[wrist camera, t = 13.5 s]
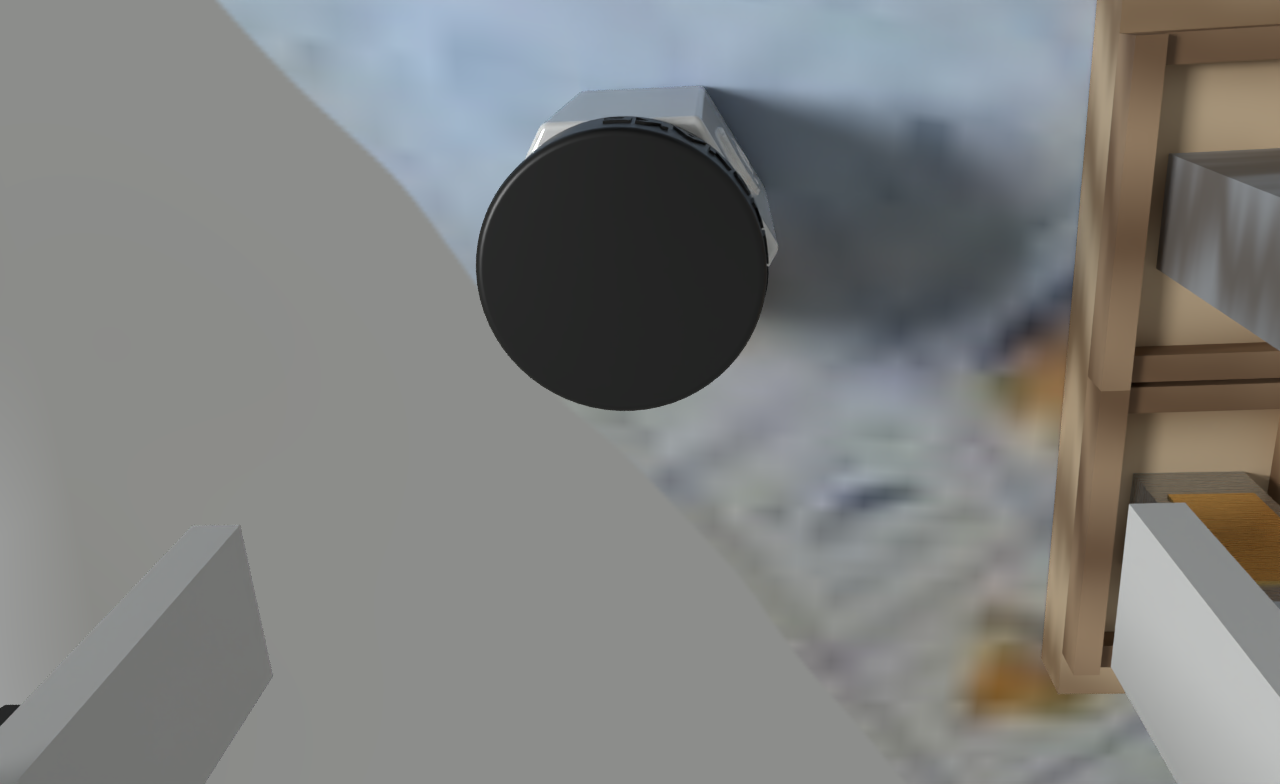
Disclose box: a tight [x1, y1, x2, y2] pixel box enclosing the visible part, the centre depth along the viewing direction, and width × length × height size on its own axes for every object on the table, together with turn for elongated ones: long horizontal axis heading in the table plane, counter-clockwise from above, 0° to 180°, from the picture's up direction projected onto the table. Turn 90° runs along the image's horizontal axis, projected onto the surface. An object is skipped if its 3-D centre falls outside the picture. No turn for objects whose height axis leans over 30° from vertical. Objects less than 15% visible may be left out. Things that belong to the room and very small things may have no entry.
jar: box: [476, 86, 778, 411], centre depth 35 cm, size 9×8×12 cm
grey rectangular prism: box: [1122, 471, 1280, 609], centre depth 37 cm, size 4×4×9 cm
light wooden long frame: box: [1041, 0, 1280, 694], centre depth 36 cm, size 28×8×12 cm, turn 4°
